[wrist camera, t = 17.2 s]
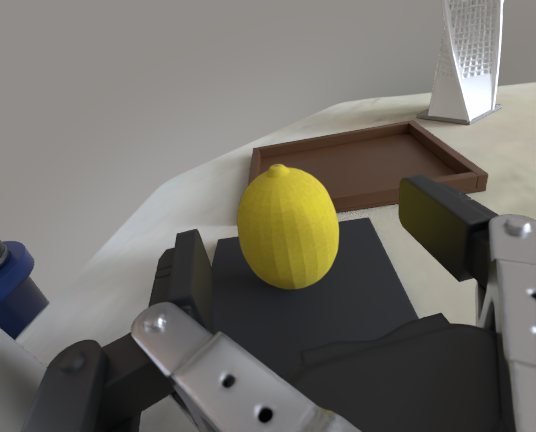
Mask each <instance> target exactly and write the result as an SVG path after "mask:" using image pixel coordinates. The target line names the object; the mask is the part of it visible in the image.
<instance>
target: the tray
mask: <svg viewBox="0 0 536 432" xmlns="http://www.w3.org/2000/svg"><path fill="white" fill-rule="evenodd" d="M275 164H282V165H284V166H285V167H288V168H295V169H299V170H302V171H304V172H306V173H308V174H310V175H312V176H313V177H314V178H316V179H317V180H318V181H319V182H320V183H321V184H322V185H323V186H324V187H325V189H326V191H327V192H328V194H329V196H330V199H331V201H332V203H333V205H334V208H335V211H336V213H339V212H345V211H352V210H359V209H365V208H372V207H379V206H385V205H392V204H399V184H400V180H401V179H402V178H405V177H409V176H413V175H418V174H424V175H426V176H427V177H429V178H431V179H432V180H434V181H435V182H439V183H442V184H445V185H449V186H452V187H454V188H455V189H457V190H459V191H460V192H462V193H463V194H466V193H472V192H479V191H485V190H486V184H487V178H488V173H486V172H485V171H483V170H482V169H481V168H479V167H478V166H476V165H475V164H474V163H472V162H471V161H469V160H468V159H467V158H465V157H464V156H462V155H461V154H460V153H458V152H457V151H455V150H454V149H452V148H451V147H450V146H448V145H447V144H445V143H444V142H443V141H441V140H440V139H438V138H437V137H436V136H434V135H433V134H431V133H430V132H429V131H427V130H426V129H424V128H423V127H422V126H420V125H419V124H417V123H416V122H415V121H413V120H412V121H407V122H401V123H395V124H389V125H383V126H378V127H372V128H366V129H361V130H355V131H349V132H343V133H338V134H332V135H326V136H321V137H315V138H309V139H303V140H298V141H292V142H286V143H281V144H275V145H269V146H263V147H260V148H259V147H258V148H253V154H252V161H251V168H250V175H249V183H248V186H249V185H250V183H251V182H252V181H253V180H254V179H255V178H257V177H258V176H259V175H261V174H262V173H264V172H266V171H268V170H269V168H270V167H271V166H272V165H275Z"/></svg>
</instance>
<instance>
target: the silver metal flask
mask: <svg viewBox="0 0 536 432" xmlns="http://www.w3.org/2000/svg"><path fill="white" fill-rule="evenodd" d="M46 369H47V367H45V366H44V365H43V364H42V363H40V362H39V361H38V360H37V359H36V358H35V357H33V356H32V355H31V354H30V353H29V352H27V351H26V350H25V349H24V348H23V347H22V346H20V345H19V344H18V343H17V342H16V341H15V340H13V339H12V338H11V337H10V336H9V335H8V334H6V333H5V332H4V331H3V330H2V329H1V328H0V432H20V431H21V428H22V426H23V423H24V421H25V419H26V416H27V414H28V412H29V409H30V407H31V405H32V402H33V400H34V397H35V395H36V393H37V390H38V388H39V386H40V383H41V381H42V379H43V376H44V374H45V372H46Z"/></svg>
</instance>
